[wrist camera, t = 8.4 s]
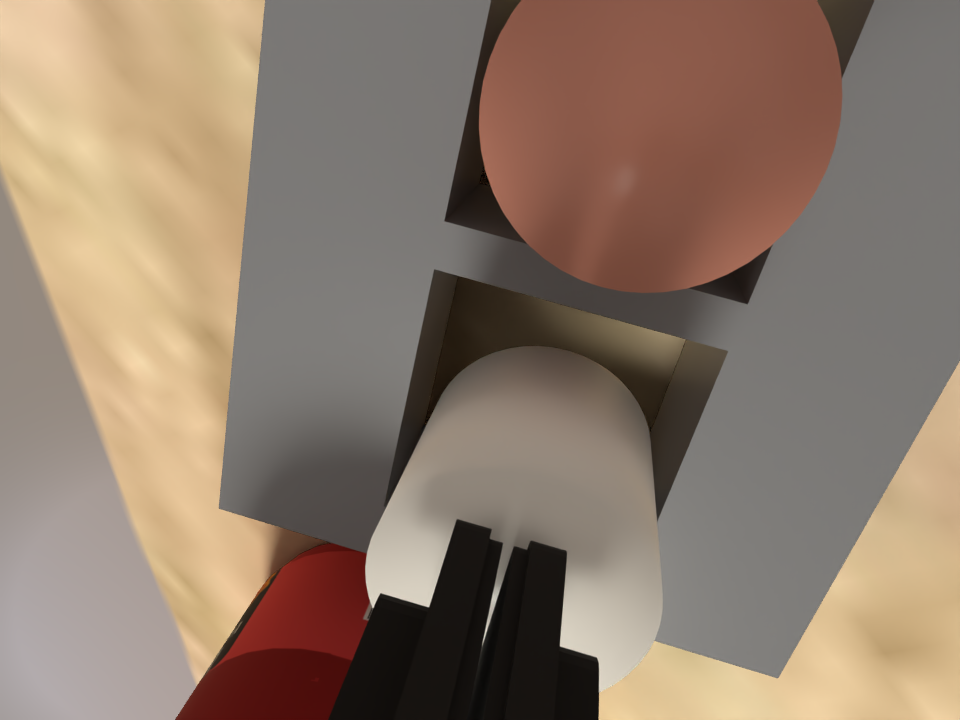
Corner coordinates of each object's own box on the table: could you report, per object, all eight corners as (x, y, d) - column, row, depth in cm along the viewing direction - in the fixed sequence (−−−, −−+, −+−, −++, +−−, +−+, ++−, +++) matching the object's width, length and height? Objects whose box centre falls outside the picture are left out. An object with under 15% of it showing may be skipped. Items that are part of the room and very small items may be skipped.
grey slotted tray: (1330, -585, 11) (1667, -878, 8) (750, 567, 21) (778, 678, 17) (441, -757, 12) (365, -1095, 8) (284, 429, 22) (218, 508, 18)
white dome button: (683, 383, 14) (708, 521, 10) (612, 563, 16) (609, 738, 12) (455, 318, 15) (392, 428, 11) (412, 503, 17) (345, 656, 13)
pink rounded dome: (816, -7, 13) (911, -27, 9) (718, 247, 15) (757, 330, 11) (555, -72, 13) (527, -120, 9) (494, 186, 15) (447, 244, 11)
